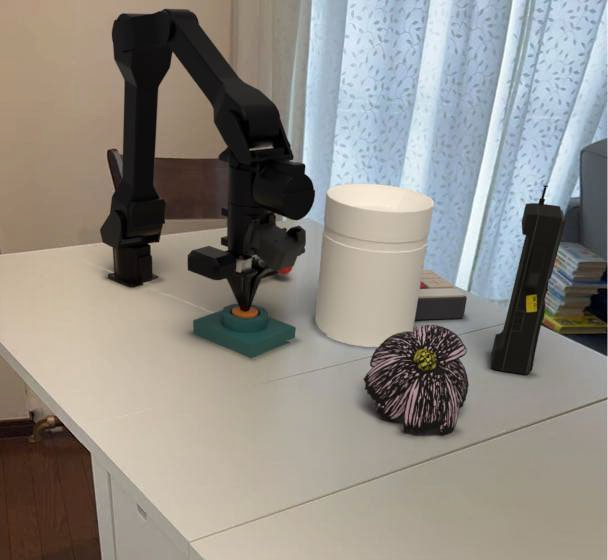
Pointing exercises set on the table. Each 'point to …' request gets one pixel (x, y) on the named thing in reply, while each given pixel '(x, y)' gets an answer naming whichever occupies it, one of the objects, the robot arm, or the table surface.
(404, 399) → the decorative flower
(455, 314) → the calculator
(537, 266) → the portable radio
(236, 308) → the button
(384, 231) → the canister
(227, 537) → the table surface
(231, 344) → the button block
